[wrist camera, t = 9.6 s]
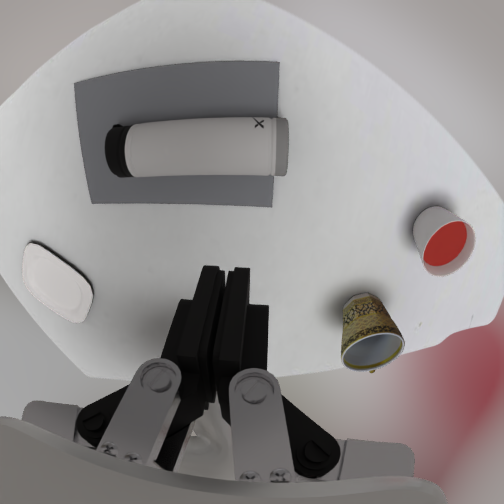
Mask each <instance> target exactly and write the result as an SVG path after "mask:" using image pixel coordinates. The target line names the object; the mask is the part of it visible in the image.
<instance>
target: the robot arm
mask: <svg viewBox="0 0 504 504" xmlns="http://www.w3.org/2000/svg"><path fill="white" fill-rule="evenodd" d="M249 291H250V268H239V267H235V269H234V271H229V272H228V277H227V282H226V287H225V271H223V270H220V268H219V266H206V265H204V266H203V269H202V272H201V275H200V278H199V281H198V284H197V288H196V291H195V294H194V297H193V300H186V299H181V300H180V302H179V304H178V307H177V310H176V313H175V316H174V318H173V321H172V324H171V327H170V330H169V333H168V336H167V339H166V342H165V346H164V349H163V352H162V355H161V358H157V359H151V360H149V361H146V362H145V363H144V364H142V365H141V366H140V367H139V369H138V370H137V372H136V373H135V375H134V377H133V379H132V381H131V383H130V384H129V385H127V386H125V387H123V388H122V389H119V390H118V391H116V392H114V393H112V394H110V395H108V396H106V397H104V398H102V399H100V400H98V401H96V402H94V403H92V404H90V405H88V406H86V407H85V408H79V406H78V405H69V404H60V403H52V402H45V401H32V402H30V403H28V404H27V406H26V407H25V409H24V411H23V415H22V420H19V419H16V418H11V417H0V504H448V502H447V499H446V497H445V494H444V492H443V491H442V489H441V488H440V487H439V486H438V485H437V484H435V483H433V482H430V481H427V480H424V479H419V478H414V477H413V474H414V463H415V459H414V453H413V452H412V450H411V448H409V447H408V446H407V445H404V444H401V443H387V442H374V441H364V440H355V439H347V440H340V439H335V438H334V437H332V436H331V435H330V434H329V433H328V432H326V431H325V430H324V429H322V428H321V427H320V426H319V425H317V424H316V423H315V422H314V421H312V420H311V419H310V418H309V417H308V416H306V415H305V414H304V413H303V412H301V411H300V410H299V409H298V408H297V407H296V406H294V405H293V404H292V403H291V402H290V401H288V400H287V399H286V398H285V397H284V396H283V395H281V390H280V386H279V383H278V380H277V379H276V378H275V377H274V375H272V374H271V373H269V372H268V371H267V353H268V319H269V305H253V304H249ZM192 431H194V432H195V434H196V435H197V436H191V433H192Z"/></svg>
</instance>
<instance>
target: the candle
mask: <svg viewBox="0 0 504 504" xmlns="http://www.w3.org/2000/svg"><path fill="white" fill-rule="evenodd" d="M413 237H414V240H415V243H416V246H417V249H418V252H419V254H420V257H421V260H422V263H423V266H424V268H425V270H426V271H427V272H428V273H429V274H430V275H432V276H436V277H444V276H448V275H450V274H453V273H454V272H456V271H458V270H459V269H460V268H461V267H463V266H464V265H465V263H466V262H467V261H468V260H469V258H470V257H471V255H472V253H473V250H474V247H475V242H476V236H475V231H474V229H473V227H472V226H471V225H470V224H469V223H468V222H466V221H465V220H463V219H461V218H460V217H458V216H457V215H455V214H453V213H452V212H450V211H448V210H447V209H445V208H443V207H440V206H433V207H430V208H427V209H426V210H424V211H423V212H422V213H421V214H420V215H419V216H418V217H417V219H416V221H415V223H414V226H413Z"/></svg>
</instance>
